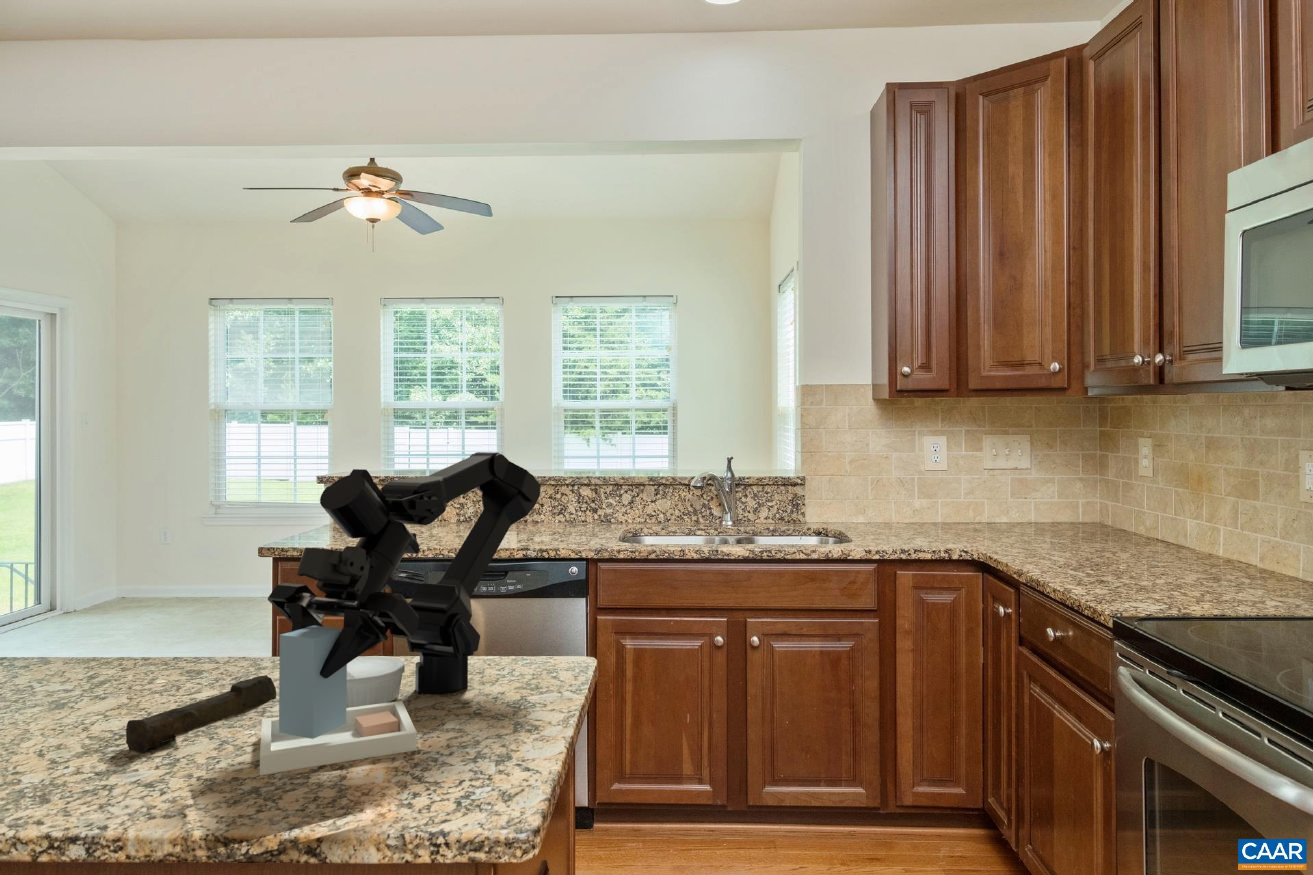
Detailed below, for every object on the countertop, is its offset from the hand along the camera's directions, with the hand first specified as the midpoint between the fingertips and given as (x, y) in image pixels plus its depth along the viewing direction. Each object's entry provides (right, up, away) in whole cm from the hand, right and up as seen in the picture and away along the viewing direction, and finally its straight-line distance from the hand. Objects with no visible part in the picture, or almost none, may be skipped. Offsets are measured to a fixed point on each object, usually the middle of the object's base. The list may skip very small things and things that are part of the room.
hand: (304, 673), depth 89 cm
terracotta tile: (+6, -9, +7) cm, 13 cm away
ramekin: (-1, -10, +20) cm, 22 cm away
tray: (+3, -10, +3) cm, 11 cm away
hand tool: (-17, -10, +11) cm, 23 cm away
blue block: (0, -7, +1) cm, 7 cm away
